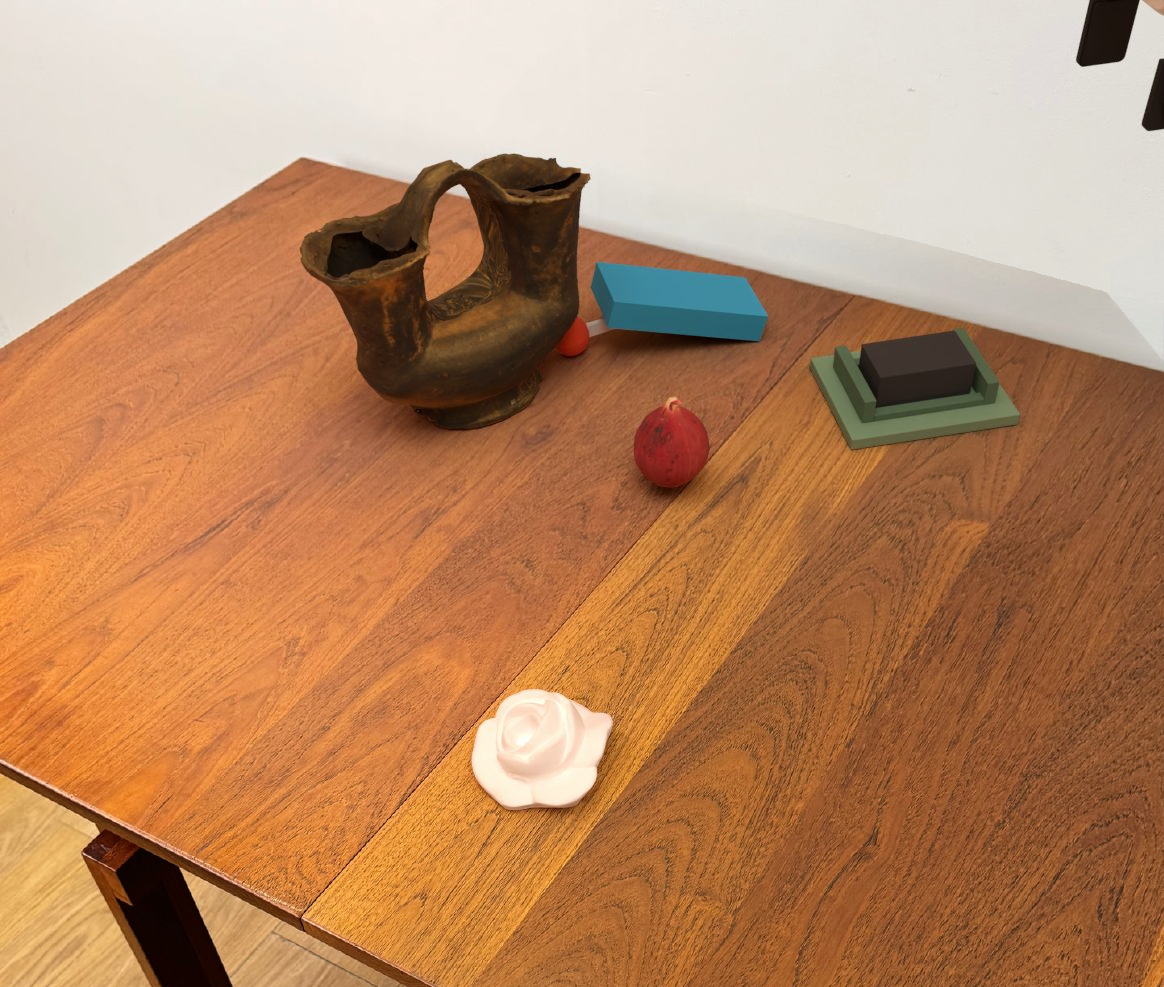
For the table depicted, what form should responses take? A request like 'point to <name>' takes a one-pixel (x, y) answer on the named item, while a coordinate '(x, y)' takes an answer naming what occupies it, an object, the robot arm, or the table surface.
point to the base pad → (911, 419)
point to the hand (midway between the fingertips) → (1131, 93)
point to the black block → (917, 368)
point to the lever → (668, 305)
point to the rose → (540, 750)
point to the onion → (671, 445)
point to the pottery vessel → (460, 289)
